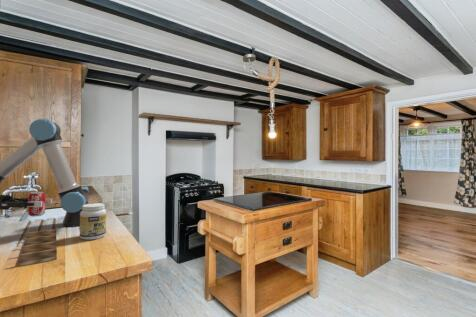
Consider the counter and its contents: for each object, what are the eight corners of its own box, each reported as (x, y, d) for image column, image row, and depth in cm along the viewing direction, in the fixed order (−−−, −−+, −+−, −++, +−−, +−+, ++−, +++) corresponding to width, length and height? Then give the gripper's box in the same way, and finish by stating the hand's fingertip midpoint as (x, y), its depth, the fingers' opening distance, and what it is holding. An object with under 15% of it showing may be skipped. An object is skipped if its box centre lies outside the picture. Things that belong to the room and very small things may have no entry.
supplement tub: (87, 242, 129) (87, 208, 129) (75, 237, 136) (75, 205, 135) (110, 235, 139) (111, 204, 139) (98, 231, 146) (98, 201, 146)
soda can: (48, 214, 137) (48, 191, 137) (33, 217, 130) (34, 193, 130) (39, 213, 139) (39, 191, 139) (24, 216, 133) (24, 192, 132)
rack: (56, 237, 136) (56, 229, 136) (56, 259, 108) (56, 249, 108) (26, 241, 129) (26, 232, 129) (19, 266, 101) (19, 255, 101)
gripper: (15, 205, 143) (58, 206, 145) (-18, 214, 123) (33, 214, 125) (15, 192, 143) (58, 192, 145) (-18, 198, 123) (33, 198, 125)
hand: (46, 202), depth 135 cm, fingers closed on soda can, 7 cm apart
